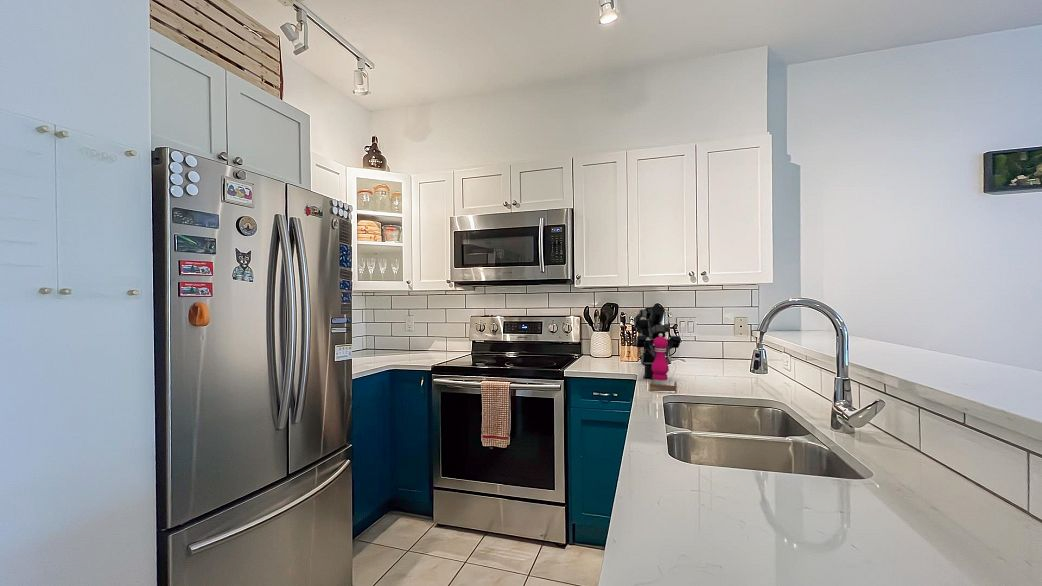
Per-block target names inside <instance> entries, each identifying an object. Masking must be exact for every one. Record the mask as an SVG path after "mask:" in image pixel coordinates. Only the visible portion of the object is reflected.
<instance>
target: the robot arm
mask: <svg viewBox="0 0 1042 586" xmlns="http://www.w3.org/2000/svg"><path fill="white" fill-rule="evenodd" d="M665 312H666V309H665V308H664V307H663V306H662V305H660V303H654V305H653V306H646V307H644V309H640V310H639V311H638V314H637V315H636V316H635V317H634V321H633V322H634V323H633V326H634V329H635V331H636V333H637V334H640V335H637V337H636V340H635V347H636V348H643V351H642V353H641V357H640V364H641V365H642V366H644V374H643V376H642V377H643V379H647V380H648V379H651V380H654V379H653V378H652V376H653V374H654V373H653V371H652V369H651V368H652V364H653V362H654V360H655V355H656V353H655V351H654V350H655V349H654V348H655V346H654V344H653V341H654V339H655V338H657V337H659V334H660V333H662V334H663V336H662V337H664V338H666V333H669V332H670V331H671V326H670V324H669V323H666V324H662V322H663V319H664V316H665ZM643 318H644V319H643ZM666 339H667V341H668V345H667V346H666V352H665V358H669V353H670V350H672V349H679V347H680V344H681V342H682V339H681V337H680V336H679V335H670V337H669V338H666Z"/></svg>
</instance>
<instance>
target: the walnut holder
mask: <svg viewBox="0 0 1042 586" xmlns="http://www.w3.org/2000/svg"><path fill="white" fill-rule="evenodd" d="M654 380H655V379H651V381H650V383H649V392H650V391H676V392H677V389H678V388H677V386H678V385H677V384H678V382H677V381H674V383H673V385H669V384H667V385H666V384H657V383H655V381H654ZM676 388H677V389H676Z"/></svg>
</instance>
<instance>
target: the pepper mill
mask: <svg viewBox="0 0 1042 586" xmlns="http://www.w3.org/2000/svg"><path fill="white" fill-rule="evenodd" d="M662 336H663V334H662V333H660V334H659V337H657V338H655V339H654V341H653V345H654V346H655V348H654V349H655V350H654V351H655V353H656V355H655V360H654V362H653V364H652V368H651V369H652V371H653V373H654V374H653V376H652V378H653V379H652V380H655V381H667V380H668V372H669V370H670V369H669V368H670V367H669V364H668V362H667V359H666V354H665V352H666V346H667V345H668V341H667V339H668V338H666V337H662Z"/></svg>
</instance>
